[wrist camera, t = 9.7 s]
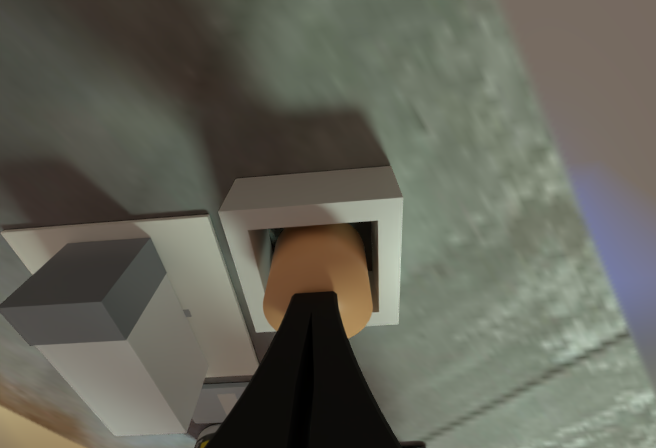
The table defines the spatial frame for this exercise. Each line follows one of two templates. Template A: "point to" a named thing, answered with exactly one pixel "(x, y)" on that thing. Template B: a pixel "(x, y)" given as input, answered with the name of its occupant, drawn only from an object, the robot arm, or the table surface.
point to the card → (217, 401)
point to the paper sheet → (182, 271)
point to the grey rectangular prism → (114, 334)
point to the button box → (316, 209)
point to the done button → (320, 272)
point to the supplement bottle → (206, 435)
